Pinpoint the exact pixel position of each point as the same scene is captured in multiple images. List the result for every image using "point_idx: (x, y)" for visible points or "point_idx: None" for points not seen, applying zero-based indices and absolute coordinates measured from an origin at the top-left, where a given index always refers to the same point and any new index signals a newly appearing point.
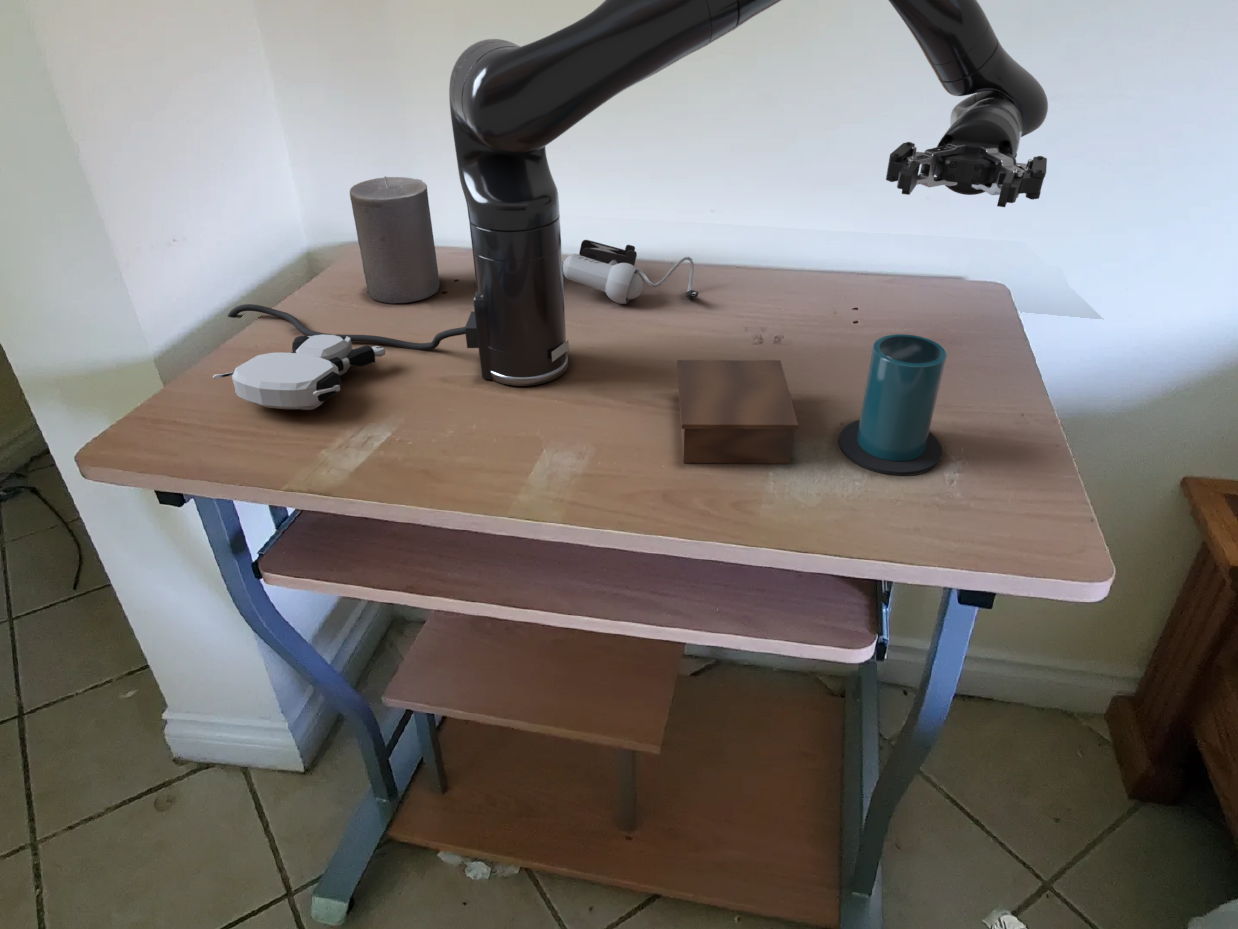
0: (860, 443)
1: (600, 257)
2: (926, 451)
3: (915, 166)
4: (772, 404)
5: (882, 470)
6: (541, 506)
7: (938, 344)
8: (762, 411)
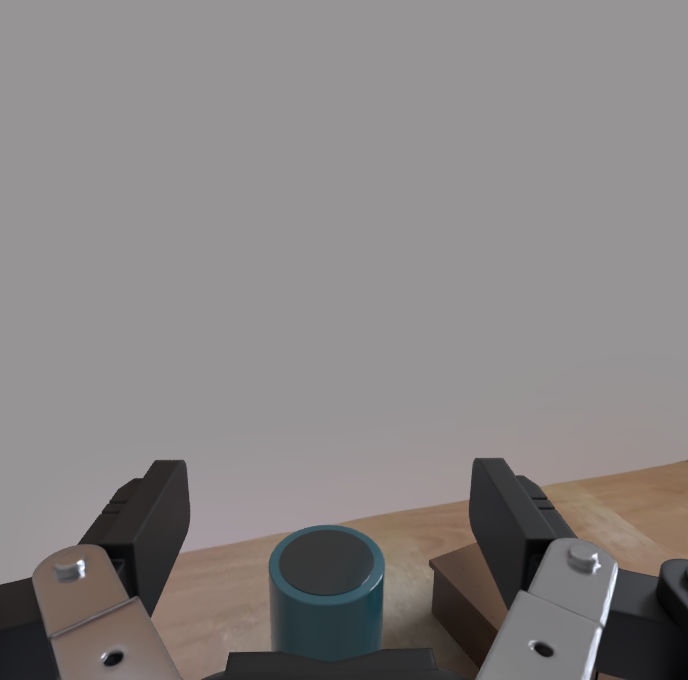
0: None
1: None
2: None
3: (505, 494)
4: (483, 584)
5: None
6: (565, 493)
7: (284, 589)
8: (482, 567)
